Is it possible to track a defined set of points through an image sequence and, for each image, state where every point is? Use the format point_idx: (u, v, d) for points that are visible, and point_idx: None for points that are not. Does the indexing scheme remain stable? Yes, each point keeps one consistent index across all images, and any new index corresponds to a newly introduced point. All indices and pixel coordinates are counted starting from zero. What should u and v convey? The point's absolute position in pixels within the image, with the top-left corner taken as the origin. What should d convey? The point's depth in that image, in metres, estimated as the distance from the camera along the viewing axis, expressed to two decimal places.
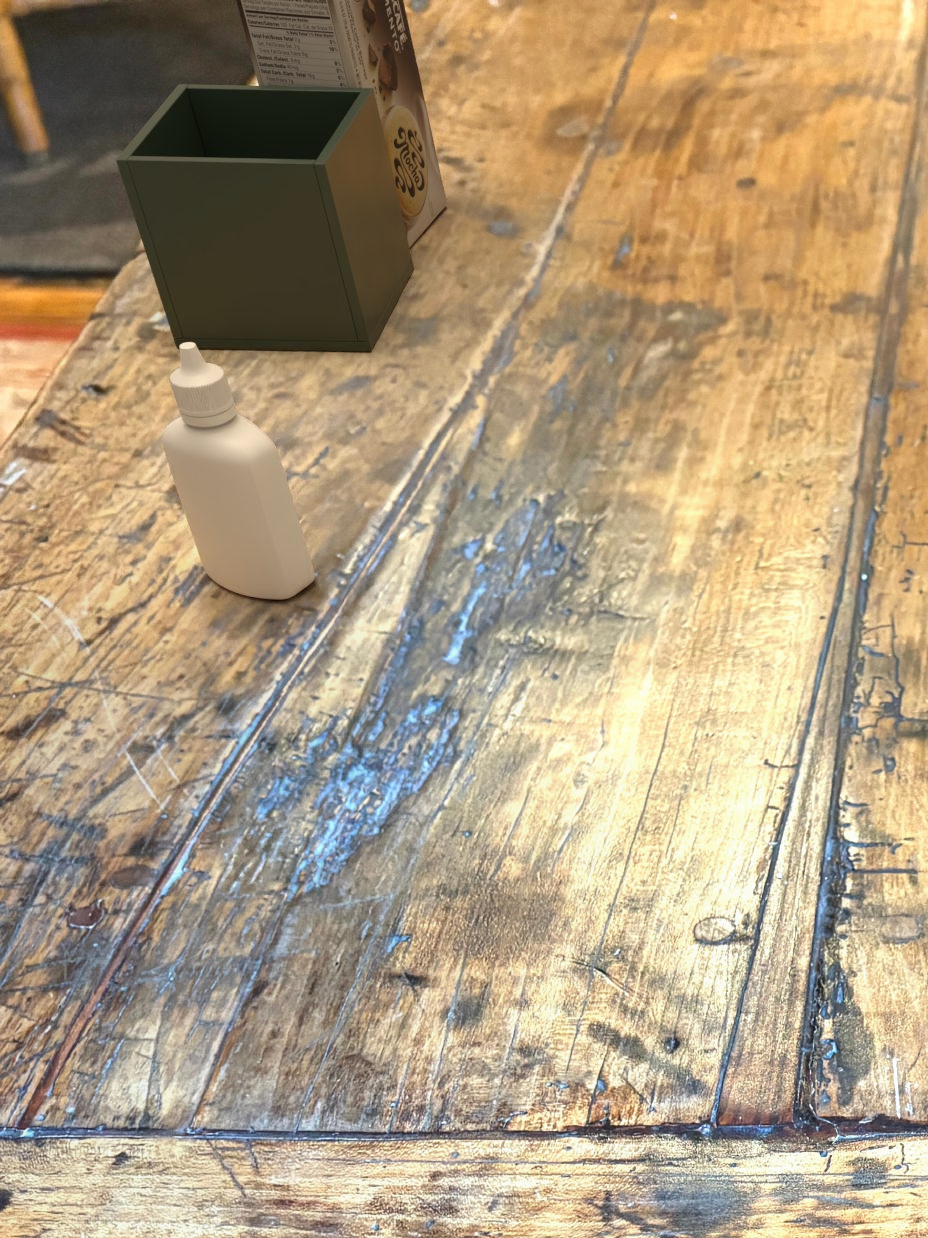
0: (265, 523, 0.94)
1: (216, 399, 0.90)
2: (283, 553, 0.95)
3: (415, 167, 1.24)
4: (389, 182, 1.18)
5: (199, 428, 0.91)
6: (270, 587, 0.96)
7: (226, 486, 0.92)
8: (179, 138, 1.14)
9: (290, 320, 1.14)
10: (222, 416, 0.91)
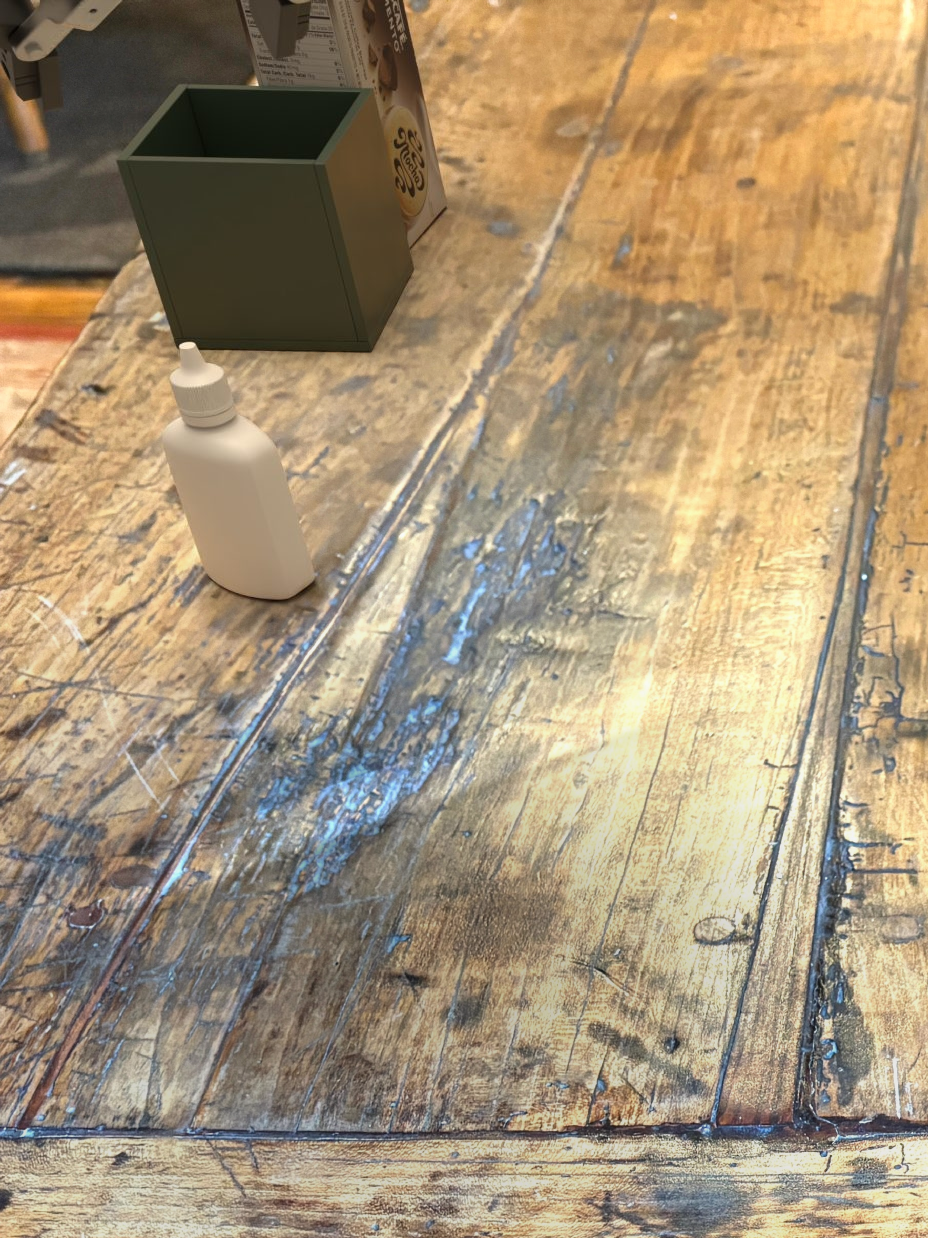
0: (265, 523, 0.94)
1: (216, 399, 0.90)
2: (283, 553, 0.95)
3: (415, 167, 1.24)
4: (389, 182, 1.18)
5: (199, 428, 0.91)
6: (270, 587, 0.96)
7: (226, 486, 0.92)
8: (179, 138, 1.14)
9: (290, 320, 1.14)
10: (222, 416, 0.91)
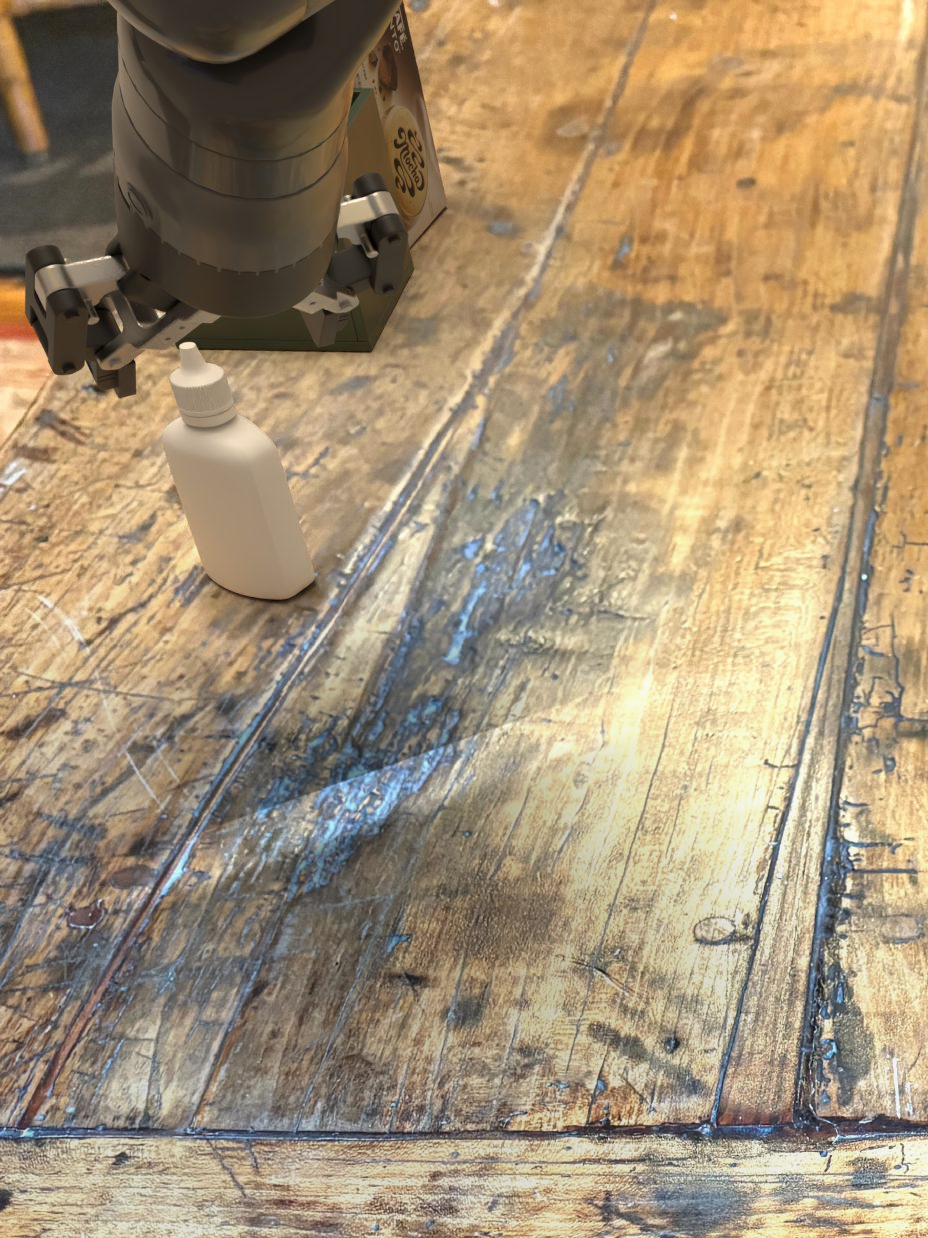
0: (265, 523, 0.94)
1: (216, 399, 0.90)
2: (283, 553, 0.95)
3: (415, 167, 1.24)
4: (389, 182, 1.18)
5: (199, 428, 0.91)
6: (270, 587, 0.96)
7: (226, 486, 0.92)
8: None
9: (290, 320, 1.14)
10: (222, 416, 0.91)
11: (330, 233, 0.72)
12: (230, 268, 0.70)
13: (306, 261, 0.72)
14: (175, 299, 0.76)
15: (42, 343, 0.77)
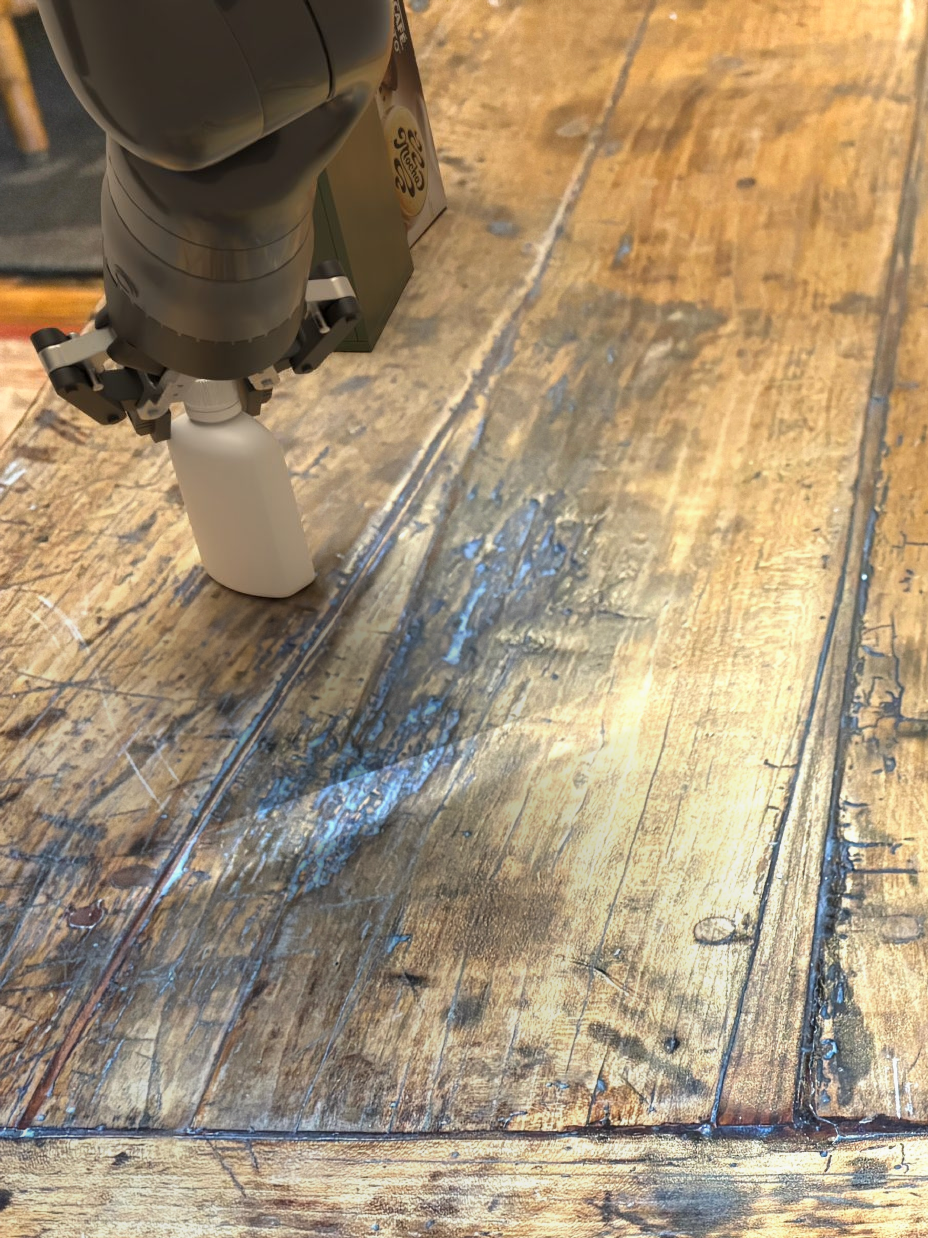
0: (267, 519, 0.94)
1: (222, 394, 0.91)
2: (284, 550, 0.95)
3: (415, 167, 1.24)
4: (389, 182, 1.18)
5: (204, 423, 0.91)
6: (270, 585, 0.96)
7: (229, 482, 0.92)
8: None
9: None
10: (227, 412, 0.91)
11: (298, 305, 0.80)
12: (208, 338, 0.78)
13: (276, 331, 0.80)
14: None
15: None
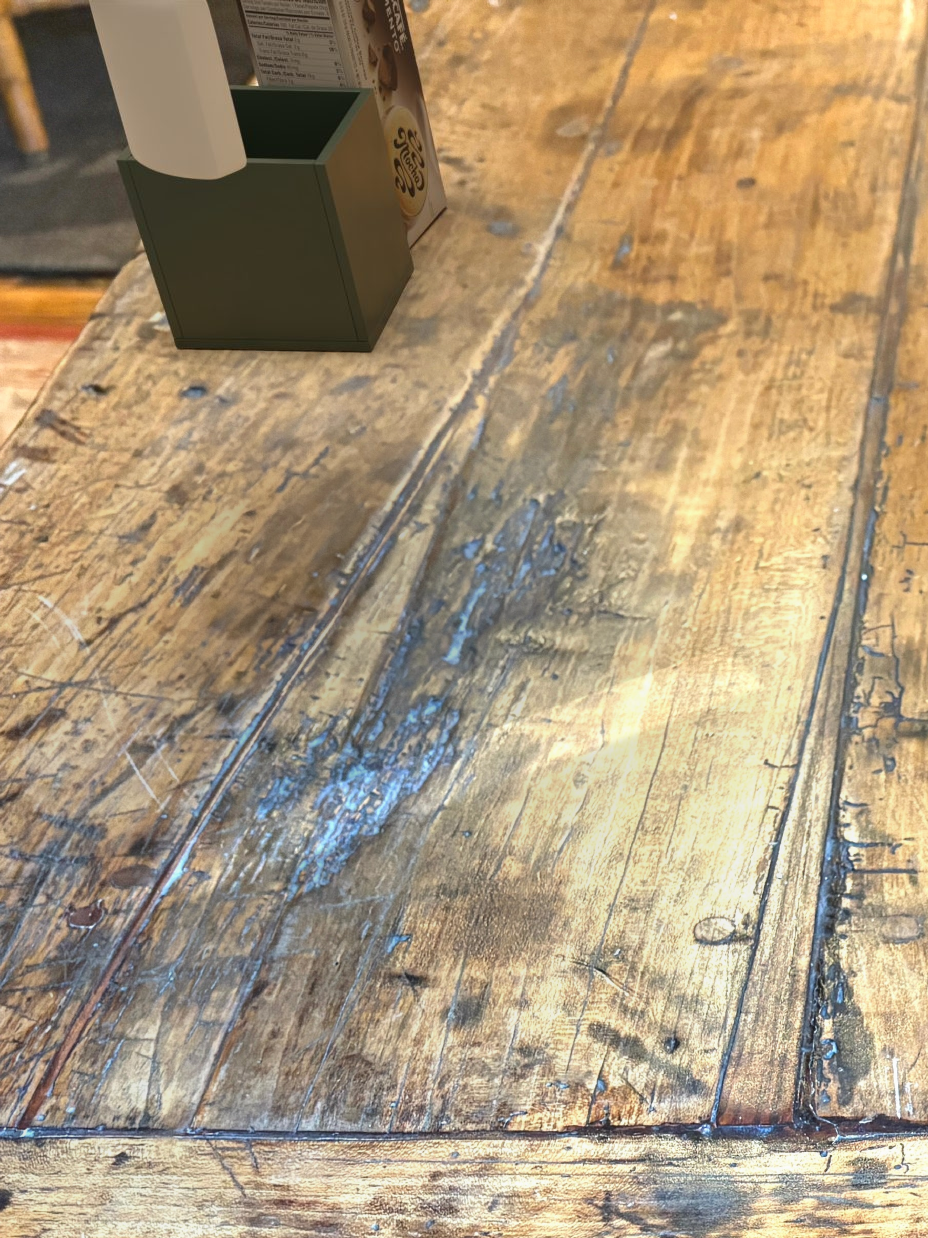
0: (193, 83, 0.89)
1: None
2: (212, 122, 0.91)
3: (414, 167, 1.24)
4: (389, 182, 1.18)
5: None
6: (198, 163, 0.92)
7: (152, 37, 0.88)
8: None
9: (290, 320, 1.14)
10: None
11: None
12: None
13: None
14: None
15: None
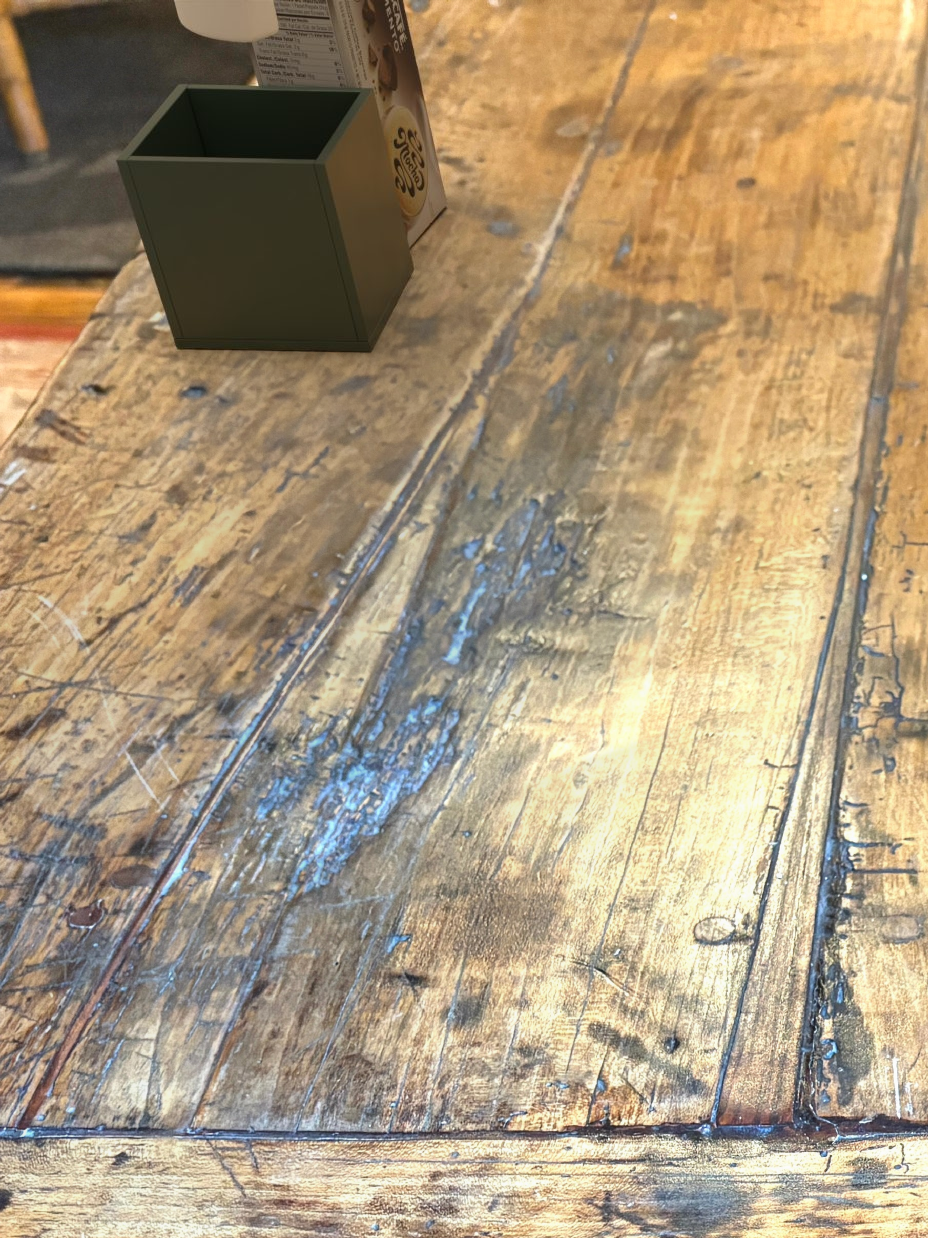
0: None
1: None
2: None
3: (414, 167, 1.24)
4: (389, 182, 1.18)
5: None
6: (235, 27, 1.05)
7: None
8: (179, 138, 1.14)
9: (290, 320, 1.14)
10: None
11: None
12: None
13: None
14: None
15: None
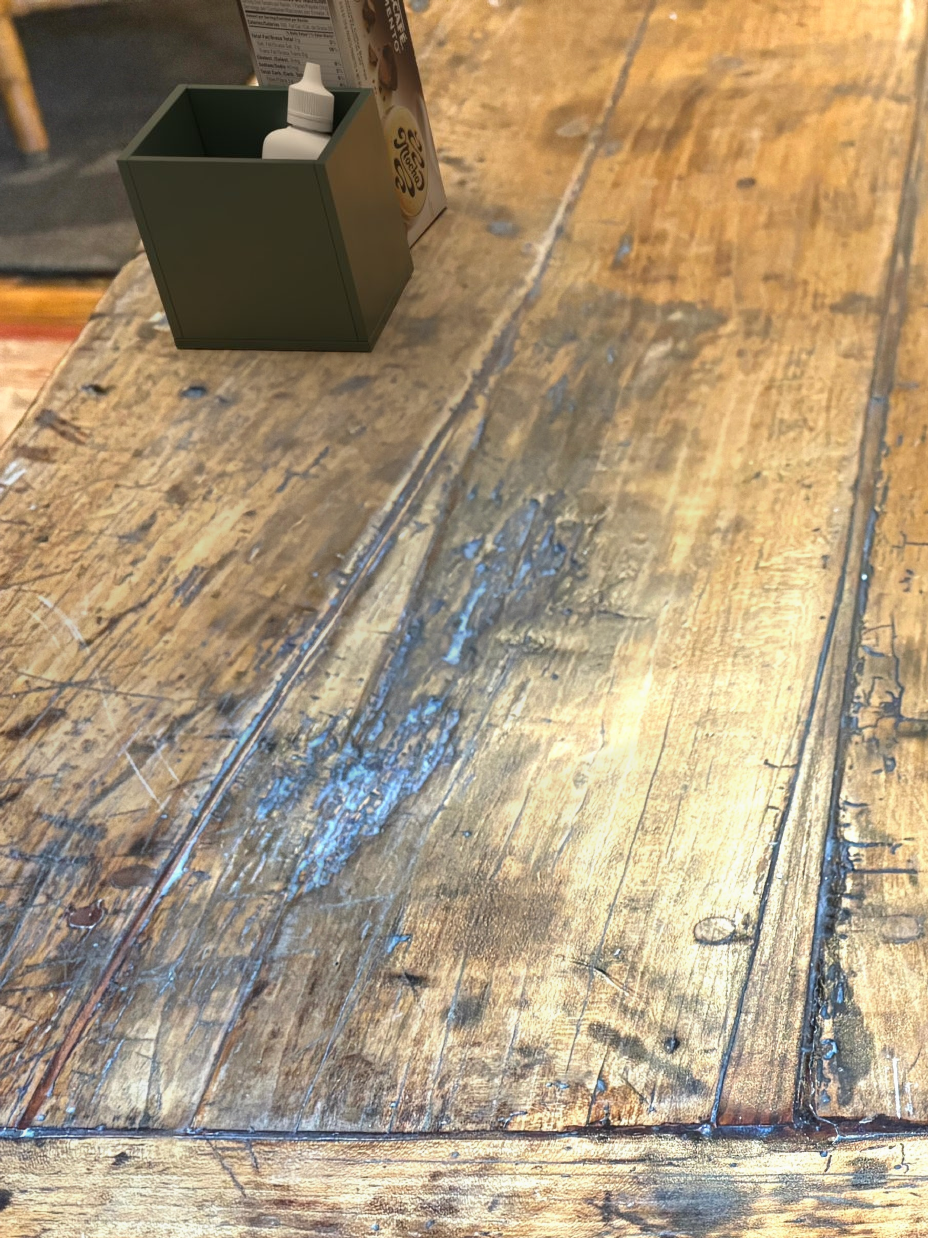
0: None
1: (320, 109, 1.13)
2: None
3: (415, 167, 1.24)
4: (389, 182, 1.18)
5: (298, 129, 1.13)
6: None
7: None
8: (179, 138, 1.14)
9: (290, 320, 1.14)
10: (320, 125, 1.13)
11: None
12: None
13: None
14: None
15: None
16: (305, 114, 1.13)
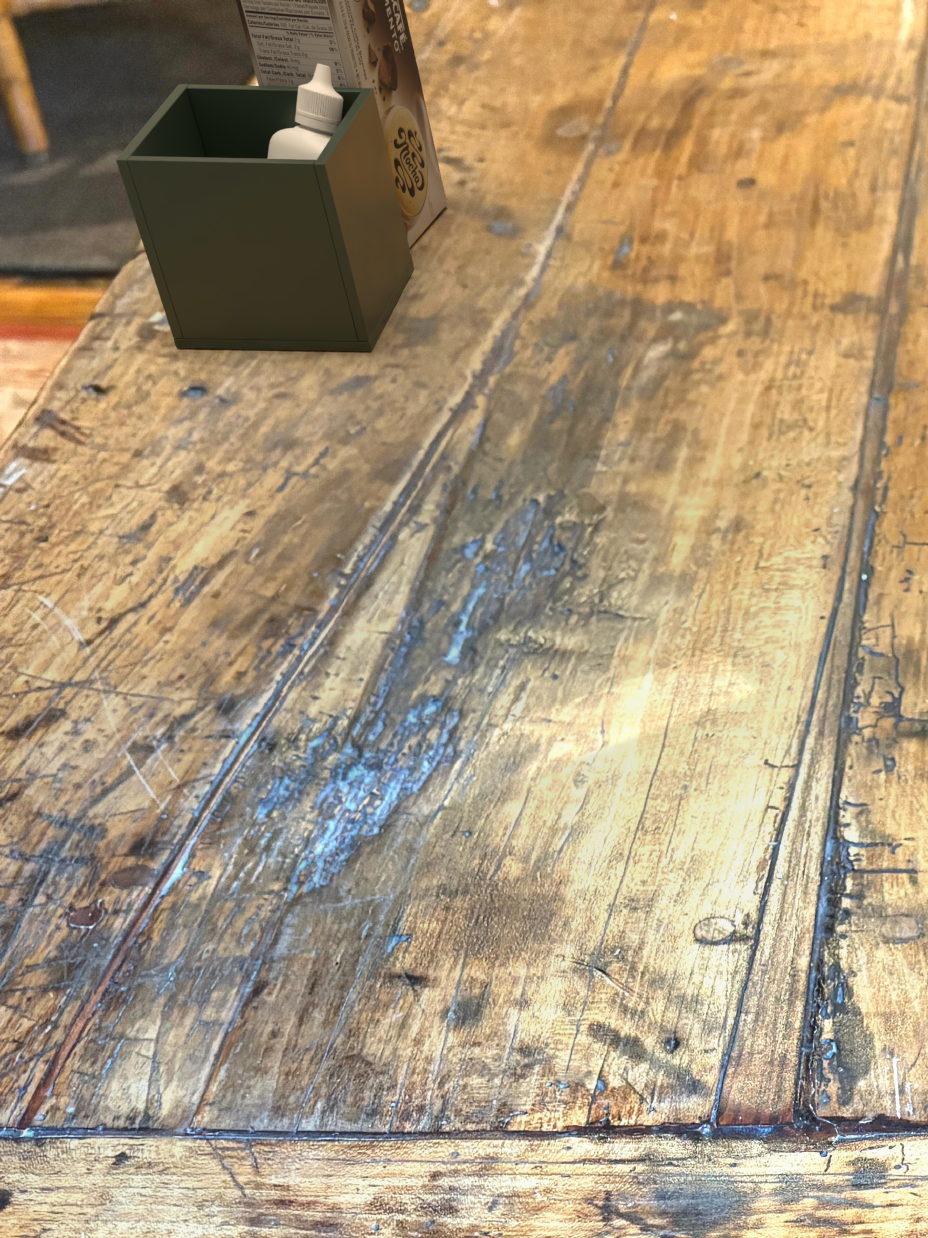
0: None
1: (329, 110, 1.13)
2: None
3: (415, 167, 1.24)
4: (389, 182, 1.18)
5: (306, 129, 1.13)
6: None
7: None
8: (179, 138, 1.14)
9: (290, 320, 1.14)
10: (328, 126, 1.14)
11: None
12: None
13: None
14: None
15: None
16: (314, 114, 1.13)
